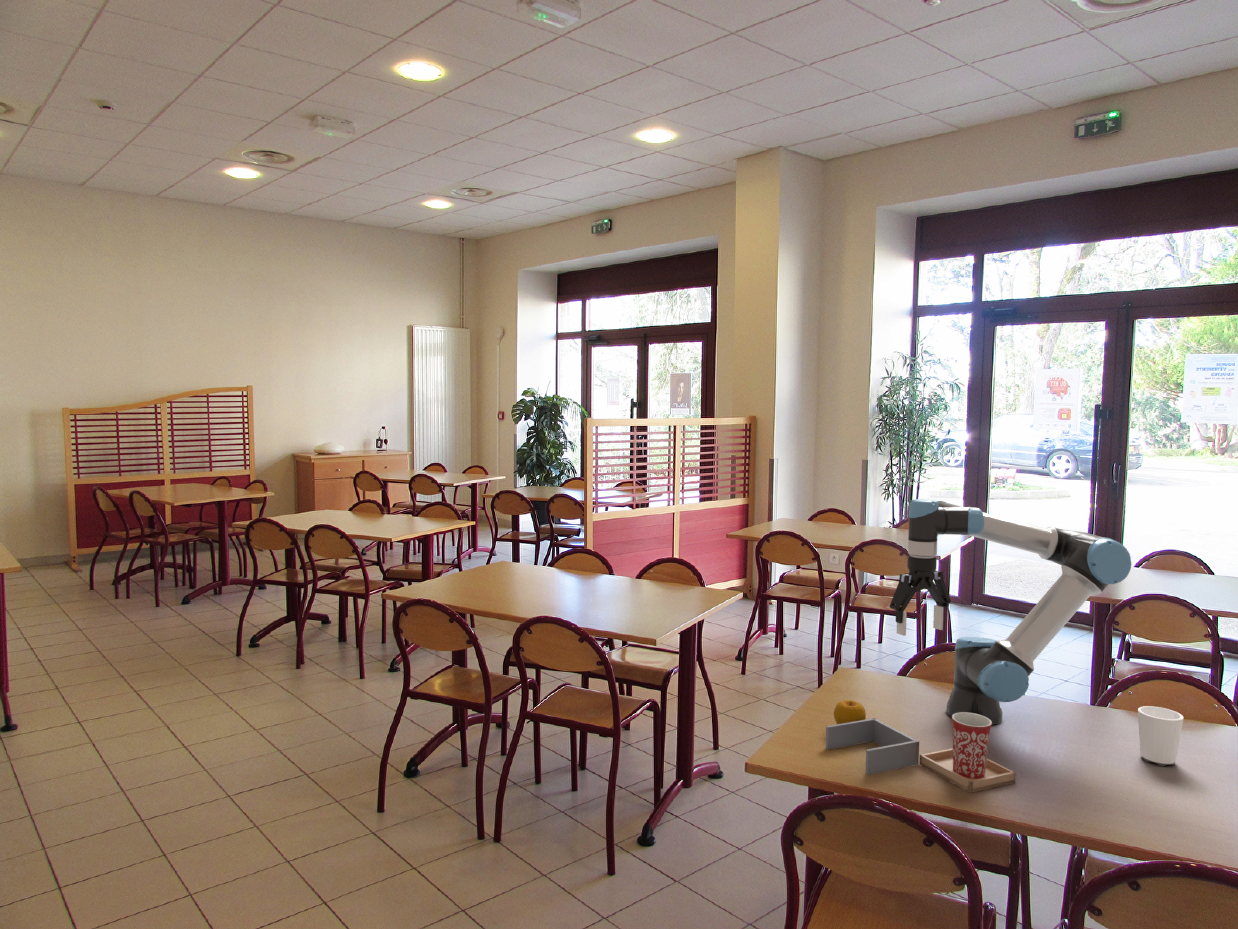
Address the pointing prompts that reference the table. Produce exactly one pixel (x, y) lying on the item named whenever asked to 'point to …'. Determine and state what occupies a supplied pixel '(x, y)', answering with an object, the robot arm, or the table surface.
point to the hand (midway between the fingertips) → (919, 631)
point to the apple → (849, 712)
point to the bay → (894, 743)
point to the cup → (1159, 734)
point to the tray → (944, 767)
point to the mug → (970, 744)
